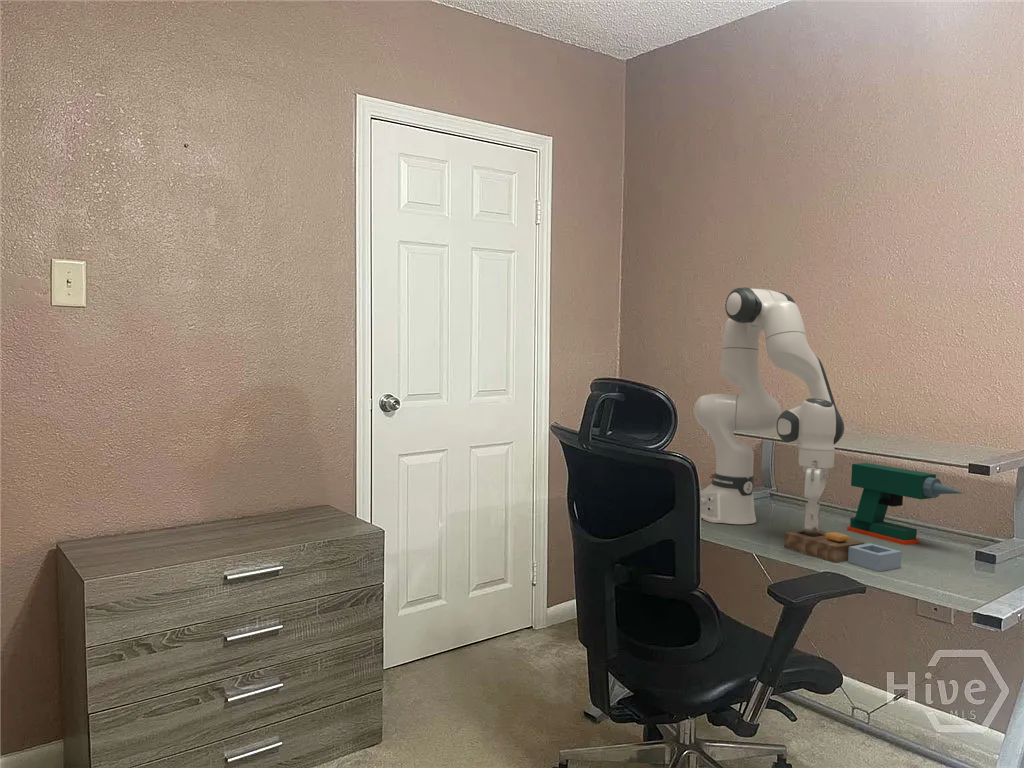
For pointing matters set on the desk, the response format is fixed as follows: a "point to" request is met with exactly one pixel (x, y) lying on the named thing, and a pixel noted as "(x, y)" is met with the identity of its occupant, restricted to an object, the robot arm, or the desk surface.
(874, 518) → the power tool
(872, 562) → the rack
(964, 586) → the desk surface
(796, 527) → the desk surface
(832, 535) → the tan block
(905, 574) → the desk surface
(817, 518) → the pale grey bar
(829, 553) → the block
